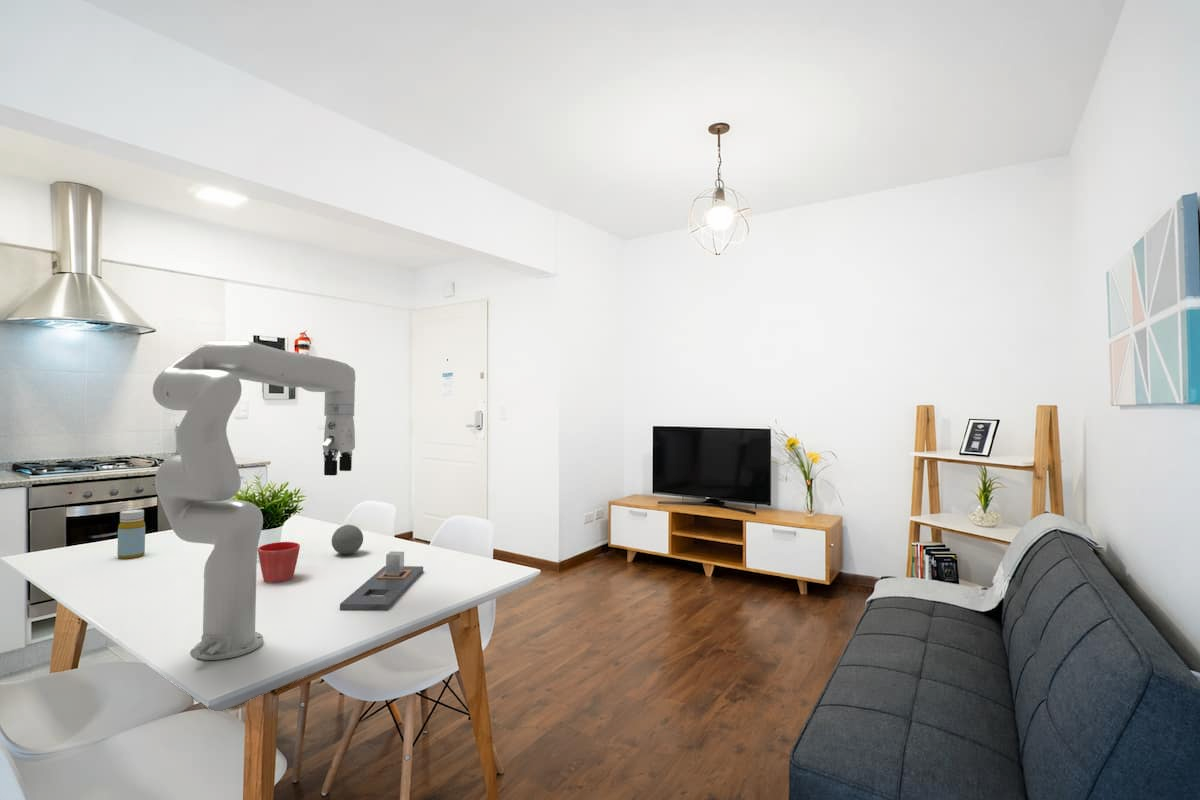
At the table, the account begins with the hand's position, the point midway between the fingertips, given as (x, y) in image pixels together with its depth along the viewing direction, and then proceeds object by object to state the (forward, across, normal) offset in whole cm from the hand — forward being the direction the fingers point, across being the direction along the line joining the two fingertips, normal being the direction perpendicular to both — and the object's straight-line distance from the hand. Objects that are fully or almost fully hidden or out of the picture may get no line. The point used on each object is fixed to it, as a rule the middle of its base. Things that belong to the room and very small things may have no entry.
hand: (338, 472), depth 160 cm
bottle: (+34, +35, +81) cm, 94 cm away
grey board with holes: (+33, +5, -12) cm, 36 cm away
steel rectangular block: (+33, +13, -12) cm, 38 cm away
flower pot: (+34, +13, +22) cm, 42 cm away
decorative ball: (+34, +41, +13) cm, 55 cm away
